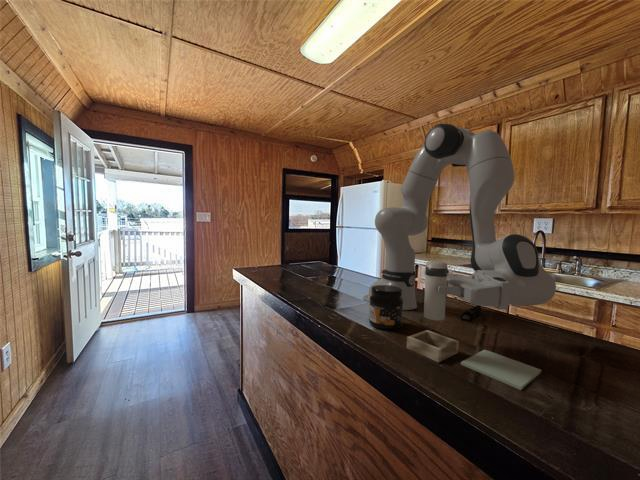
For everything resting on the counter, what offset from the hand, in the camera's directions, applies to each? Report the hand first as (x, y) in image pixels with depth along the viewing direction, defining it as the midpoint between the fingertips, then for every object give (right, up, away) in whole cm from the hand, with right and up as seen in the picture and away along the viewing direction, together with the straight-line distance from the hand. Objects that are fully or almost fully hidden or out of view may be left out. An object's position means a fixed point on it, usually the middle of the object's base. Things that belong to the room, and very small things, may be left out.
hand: (432, 286), depth 71 cm
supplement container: (-8, -16, +19) cm, 26 cm away
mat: (+13, -18, -7) cm, 23 cm away
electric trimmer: (+26, -16, +30) cm, 43 cm away
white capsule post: (+1, -8, +1) cm, 8 cm away
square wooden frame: (0, -17, +1) cm, 17 cm away
